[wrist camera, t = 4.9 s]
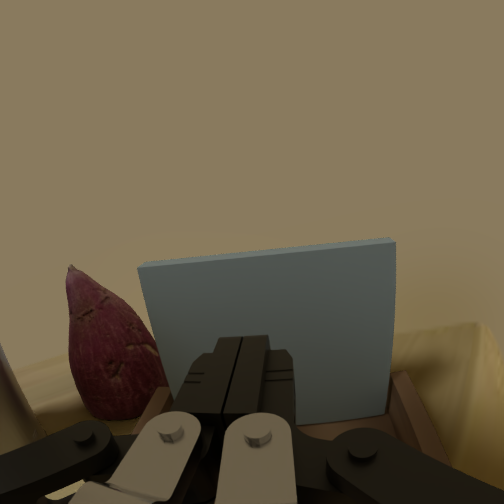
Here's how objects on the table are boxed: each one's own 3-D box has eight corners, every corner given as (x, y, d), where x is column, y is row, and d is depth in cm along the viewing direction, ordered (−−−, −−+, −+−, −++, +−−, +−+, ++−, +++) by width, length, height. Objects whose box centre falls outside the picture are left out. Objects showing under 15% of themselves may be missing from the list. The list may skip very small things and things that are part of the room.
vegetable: (83, 421, 27) (4, 303, 24) (137, 368, 36) (75, 261, 32) (135, 442, 22) (30, 288, 18) (197, 369, 30) (123, 235, 27)
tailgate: (182, 425, 20) (137, 267, 18) (191, 404, 23) (153, 256, 20) (384, 414, 19) (395, 241, 16) (377, 392, 21) (382, 232, 18)
